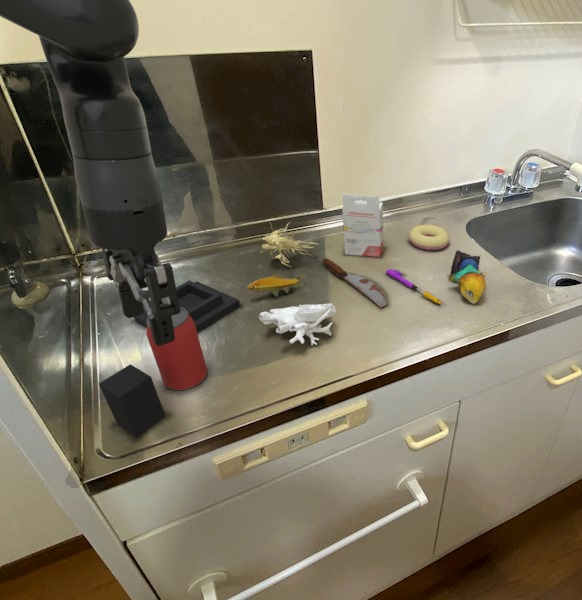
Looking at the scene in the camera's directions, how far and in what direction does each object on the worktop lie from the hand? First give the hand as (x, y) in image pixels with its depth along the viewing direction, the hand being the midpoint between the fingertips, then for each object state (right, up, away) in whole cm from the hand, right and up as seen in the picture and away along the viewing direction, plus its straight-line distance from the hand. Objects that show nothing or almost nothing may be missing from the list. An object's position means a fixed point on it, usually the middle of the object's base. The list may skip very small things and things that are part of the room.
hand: (149, 328), depth 57 cm
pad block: (-7, -14, +10) cm, 18 cm away
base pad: (-9, +1, +32) cm, 33 cm away
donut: (+38, +17, +58) cm, 71 cm away
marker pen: (+34, +6, +41) cm, 54 cm away
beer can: (-3, -9, +18) cm, 20 cm away
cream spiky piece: (+6, +12, +49) cm, 51 cm away
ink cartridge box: (+22, +15, +54) cm, 60 cm away
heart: (+13, -3, +28) cm, 31 cm away
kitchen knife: (+22, +7, +42) cm, 48 cm away
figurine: (+45, +6, +42) cm, 62 cm away
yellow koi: (+6, +4, +38) cm, 39 cm away
